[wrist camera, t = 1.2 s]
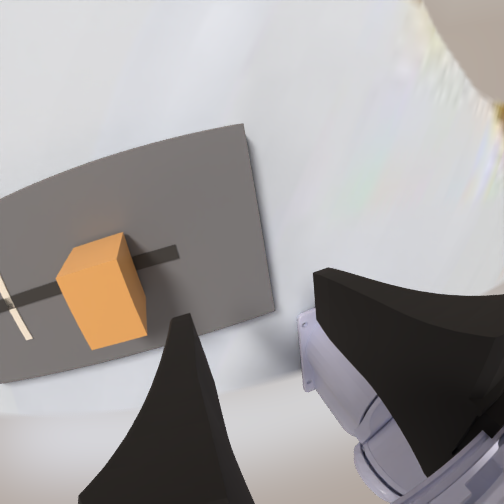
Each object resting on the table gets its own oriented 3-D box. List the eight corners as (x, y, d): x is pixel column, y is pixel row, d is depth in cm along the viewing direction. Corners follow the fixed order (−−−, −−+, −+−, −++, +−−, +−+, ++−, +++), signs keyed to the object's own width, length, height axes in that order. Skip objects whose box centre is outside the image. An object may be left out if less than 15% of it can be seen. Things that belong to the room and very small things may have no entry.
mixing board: (266, 299, 22) (275, 311, 20) (-9, 374, 16) (-14, 386, 15) (235, 124, 17) (243, 123, 15) (-77, 242, 11) (-88, 249, 10)
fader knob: (145, 296, 17) (147, 335, 13) (99, 309, 16) (91, 350, 13) (123, 231, 15) (116, 259, 12) (73, 247, 14) (55, 278, 11)
